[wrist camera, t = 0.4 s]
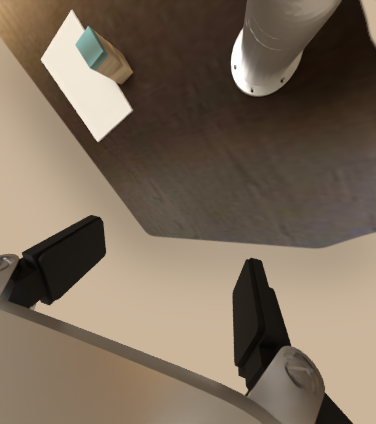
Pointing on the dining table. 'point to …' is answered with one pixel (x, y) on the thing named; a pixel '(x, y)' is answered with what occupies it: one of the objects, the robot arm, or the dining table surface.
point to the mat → (84, 82)
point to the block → (103, 56)
